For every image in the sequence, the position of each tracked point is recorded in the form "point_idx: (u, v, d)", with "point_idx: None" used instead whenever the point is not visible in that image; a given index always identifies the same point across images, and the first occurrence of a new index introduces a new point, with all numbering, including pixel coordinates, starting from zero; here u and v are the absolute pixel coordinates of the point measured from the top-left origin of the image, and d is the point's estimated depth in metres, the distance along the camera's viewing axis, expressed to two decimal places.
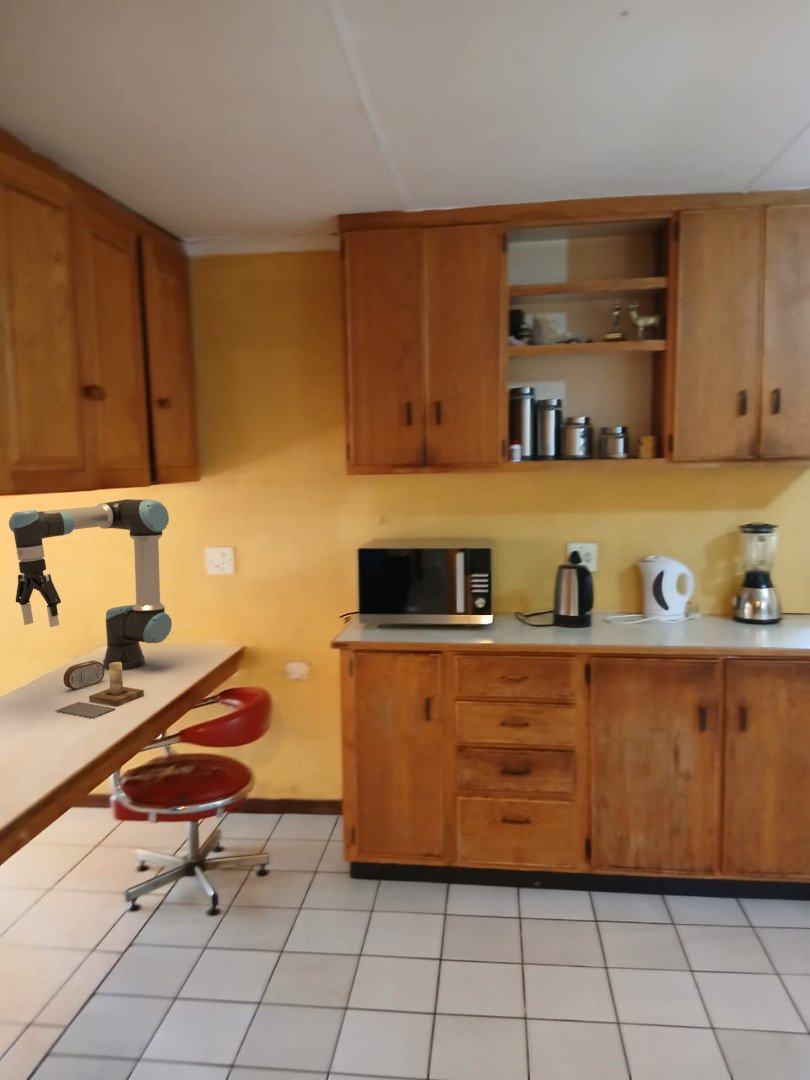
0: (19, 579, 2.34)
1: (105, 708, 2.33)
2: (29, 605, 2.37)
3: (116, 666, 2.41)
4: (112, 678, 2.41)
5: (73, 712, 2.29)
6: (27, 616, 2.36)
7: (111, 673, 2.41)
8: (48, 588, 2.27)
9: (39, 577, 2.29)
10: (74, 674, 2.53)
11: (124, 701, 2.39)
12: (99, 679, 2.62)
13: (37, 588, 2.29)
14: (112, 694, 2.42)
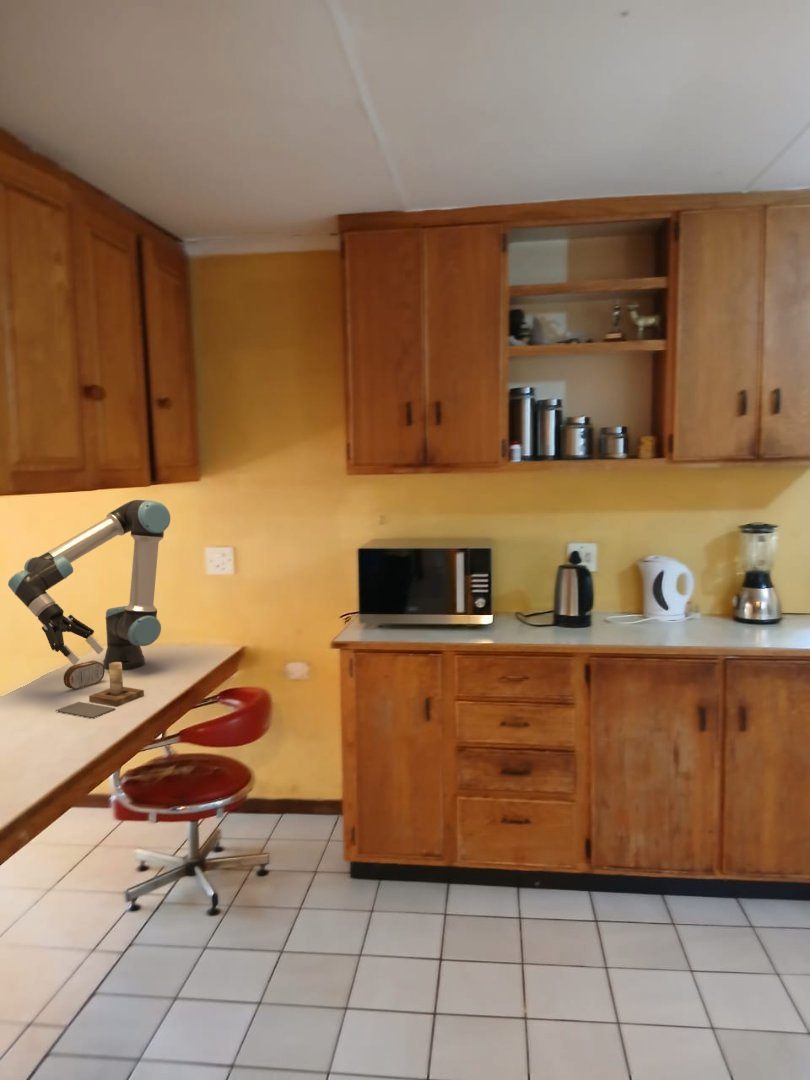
0: None
1: (105, 708, 2.33)
2: (90, 637, 2.49)
3: (116, 666, 2.41)
4: (112, 678, 2.41)
5: (73, 712, 2.29)
6: (94, 646, 2.49)
7: (111, 673, 2.41)
8: (47, 636, 2.36)
9: None
10: (74, 674, 2.53)
11: (124, 701, 2.39)
12: (99, 679, 2.62)
13: None
14: (112, 694, 2.42)
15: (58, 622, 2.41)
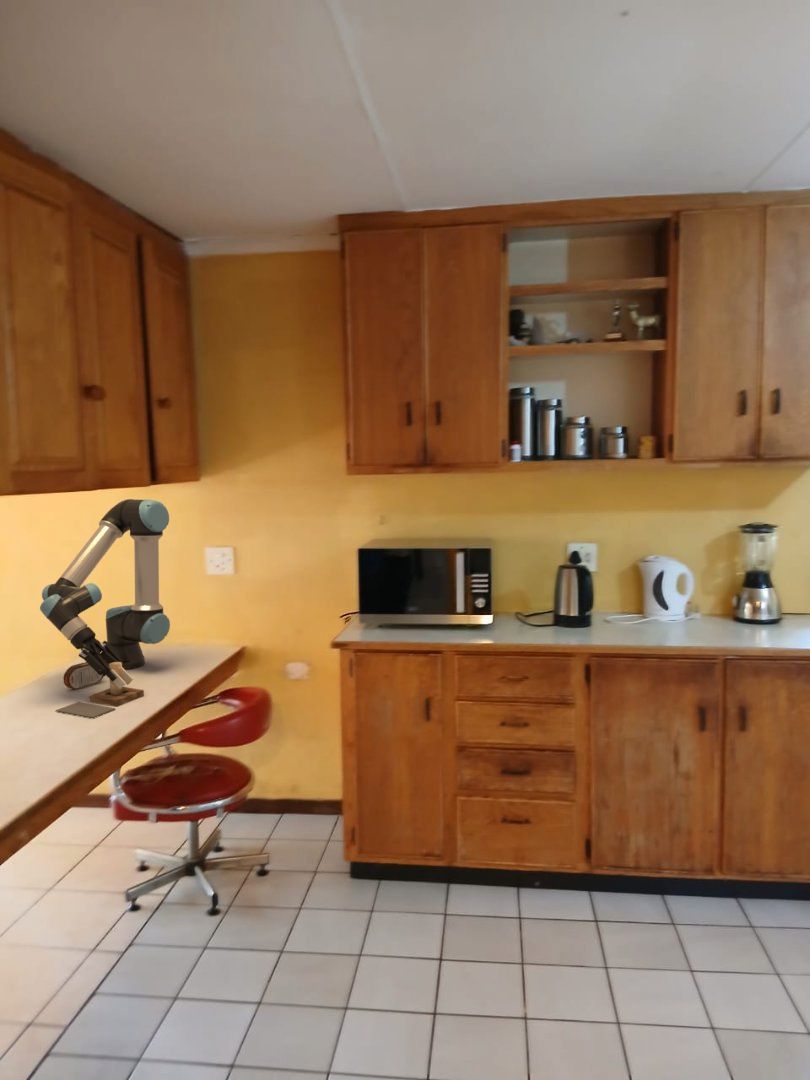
0: None
1: (105, 708, 2.33)
2: None
3: (116, 666, 2.41)
4: None
5: (73, 712, 2.29)
6: (123, 677, 2.45)
7: None
8: (89, 663, 2.38)
9: None
10: (74, 674, 2.53)
11: (124, 701, 2.39)
12: (99, 679, 2.62)
13: None
14: (112, 694, 2.42)
15: (92, 646, 2.41)
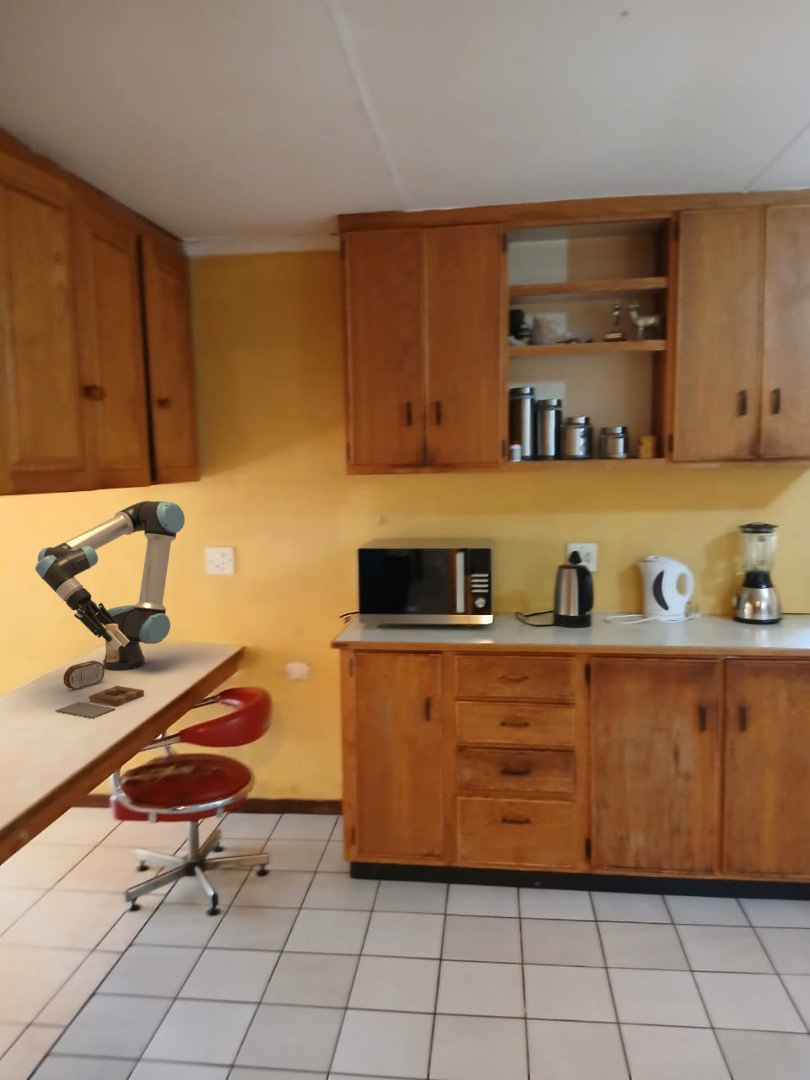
0: None
1: (105, 708, 2.33)
2: None
3: (112, 627, 2.39)
4: None
5: (73, 712, 2.29)
6: (119, 639, 2.43)
7: None
8: (84, 623, 2.36)
9: None
10: (74, 674, 2.53)
11: (124, 701, 2.39)
12: (99, 679, 2.62)
13: None
14: (108, 656, 2.40)
15: (87, 607, 2.39)
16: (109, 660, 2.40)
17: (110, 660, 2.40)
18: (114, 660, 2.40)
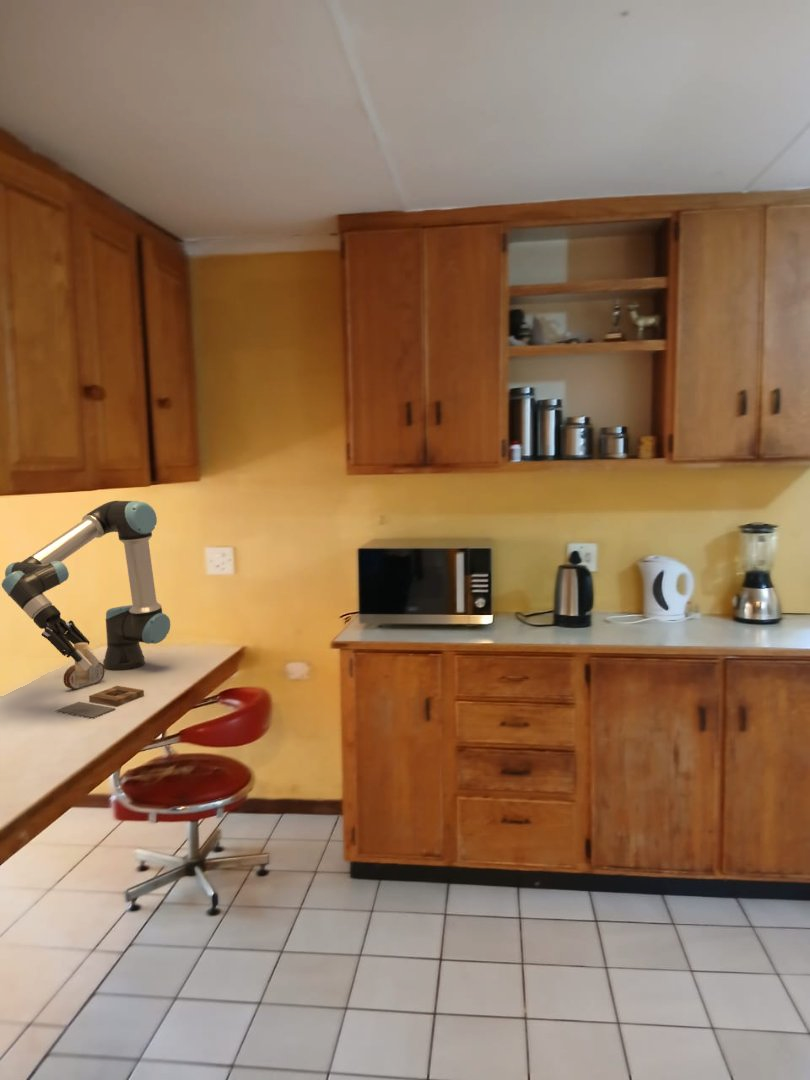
0: None
1: (105, 708, 2.33)
2: None
3: (81, 646, 2.28)
4: None
5: (73, 712, 2.29)
6: (90, 658, 2.32)
7: None
8: (52, 643, 2.25)
9: None
10: (74, 674, 2.53)
11: (124, 701, 2.39)
12: (99, 679, 2.62)
13: None
14: (77, 676, 2.29)
15: (56, 625, 2.28)
16: (78, 681, 2.29)
17: (80, 681, 2.29)
18: (84, 681, 2.29)
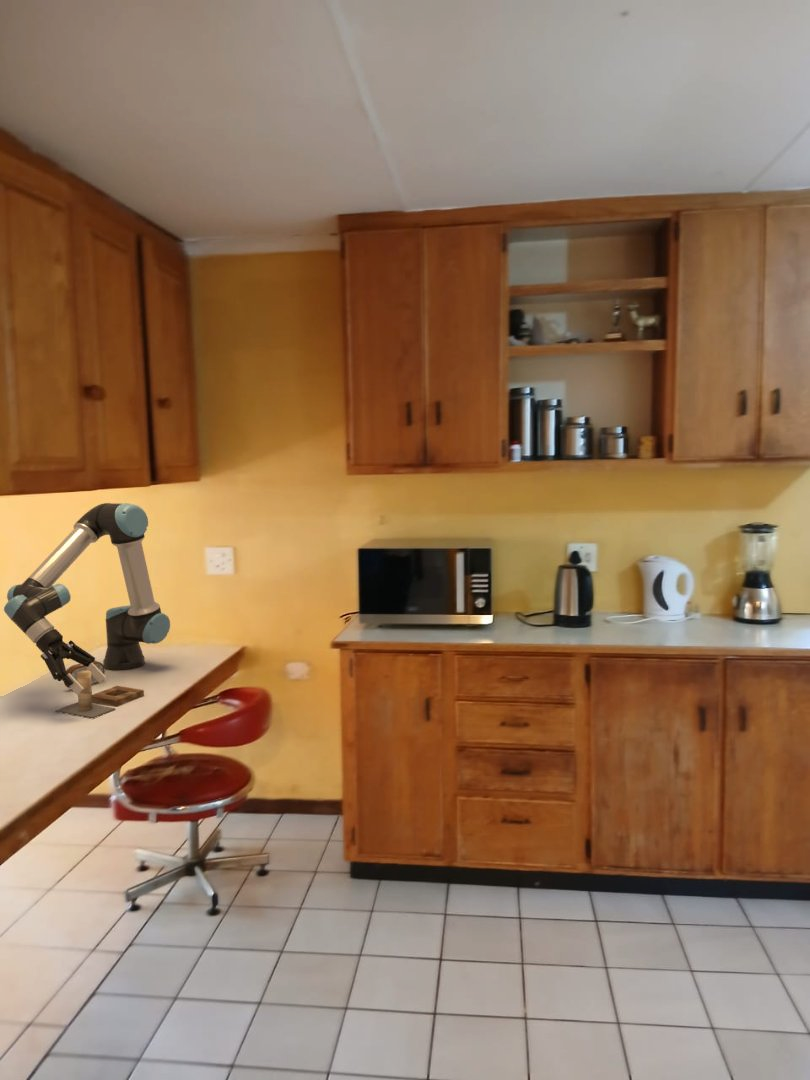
0: None
1: (105, 708, 2.33)
2: (91, 665, 2.37)
3: (85, 675, 2.29)
4: None
5: (73, 712, 2.29)
6: (95, 675, 2.37)
7: (79, 682, 2.29)
8: (48, 665, 2.24)
9: None
10: (74, 674, 2.53)
11: (124, 701, 2.39)
12: None
13: None
14: (80, 704, 2.30)
15: (57, 649, 2.29)
16: (81, 709, 2.30)
17: (82, 709, 2.30)
18: (87, 709, 2.31)
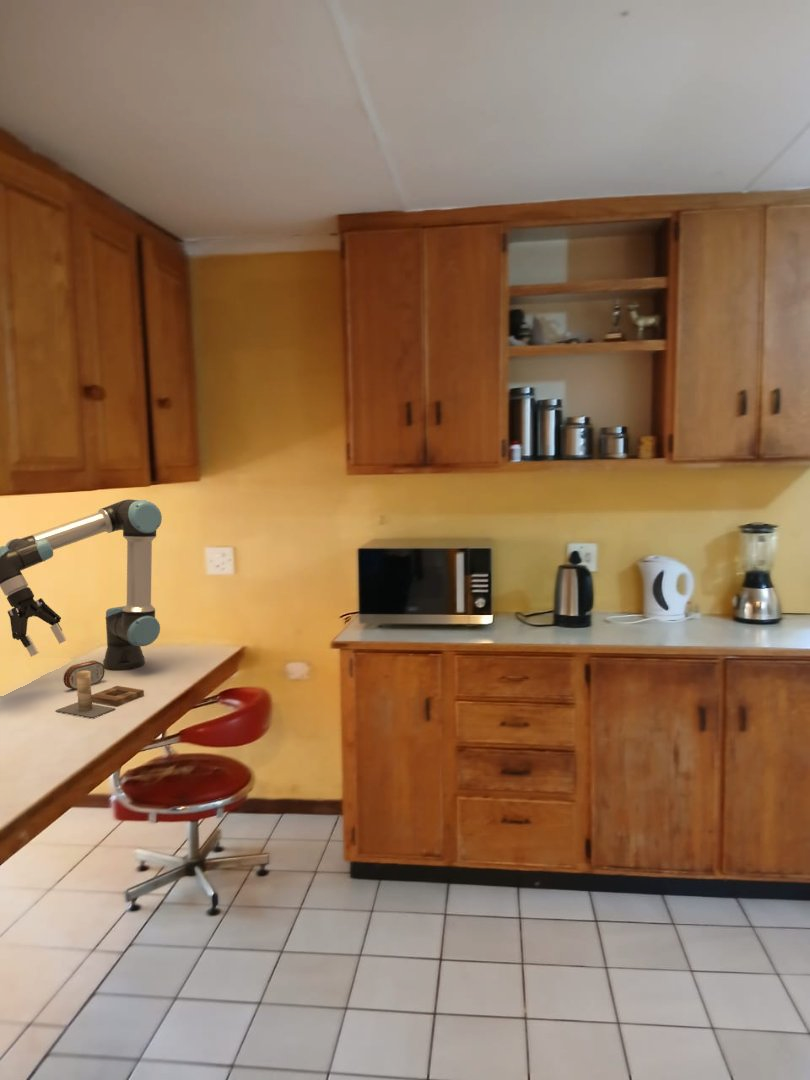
0: None
1: (105, 708, 2.33)
2: (55, 625, 2.46)
3: (84, 675, 2.29)
4: (80, 687, 2.29)
5: (73, 712, 2.29)
6: (57, 635, 2.47)
7: (79, 683, 2.29)
8: (11, 623, 2.33)
9: None
10: (74, 674, 2.53)
11: (124, 701, 2.39)
12: (99, 679, 2.62)
13: None
14: (80, 704, 2.30)
15: (26, 608, 2.38)
16: (81, 709, 2.30)
17: (82, 709, 2.30)
18: (87, 709, 2.31)
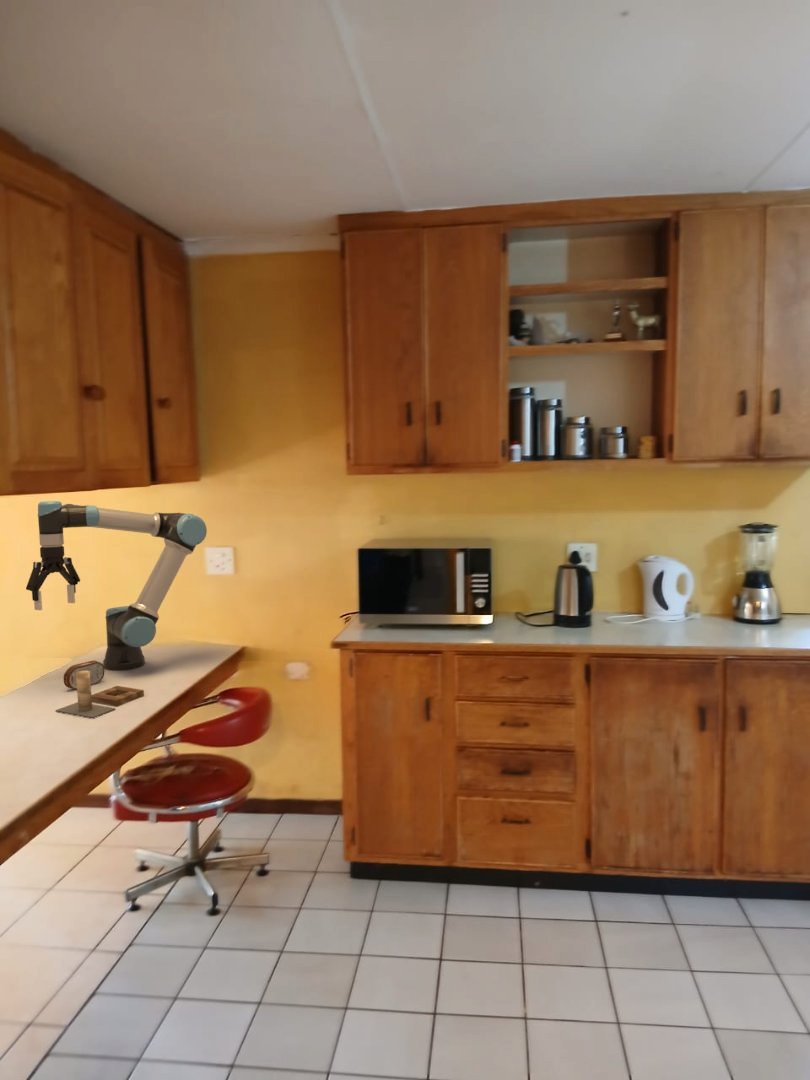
0: None
1: (105, 708, 2.33)
2: (71, 586, 2.59)
3: (83, 675, 2.29)
4: (80, 687, 2.29)
5: (73, 712, 2.29)
6: (69, 595, 2.60)
7: (78, 683, 2.29)
8: (31, 574, 2.47)
9: None
10: (74, 674, 2.53)
11: (124, 701, 2.39)
12: (99, 679, 2.62)
13: None
14: (80, 704, 2.30)
15: (51, 565, 2.51)
16: (81, 709, 2.30)
17: (83, 709, 2.30)
18: (87, 709, 2.31)
